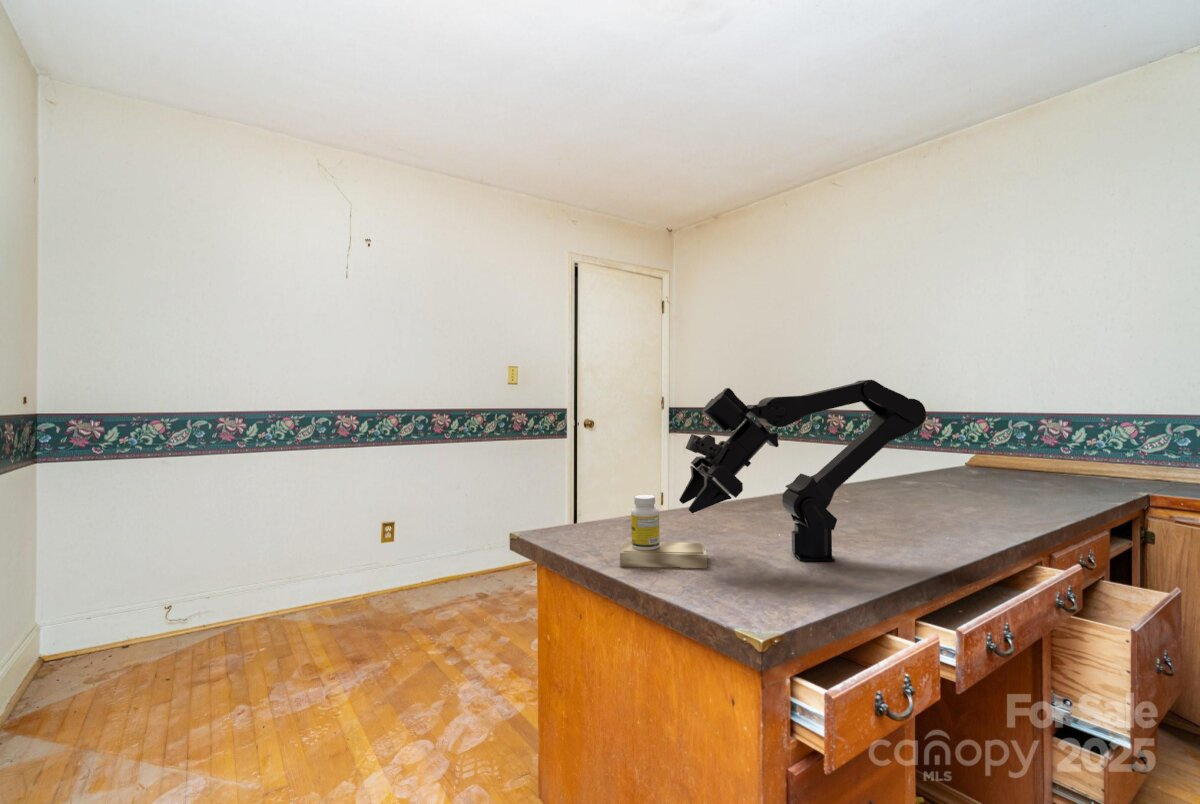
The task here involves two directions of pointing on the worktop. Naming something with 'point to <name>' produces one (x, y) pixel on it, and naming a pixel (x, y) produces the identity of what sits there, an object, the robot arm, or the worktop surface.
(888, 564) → the worktop surface
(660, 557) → the birch plinth
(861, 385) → the robot arm
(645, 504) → the supplement bottle
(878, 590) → the worktop surface
